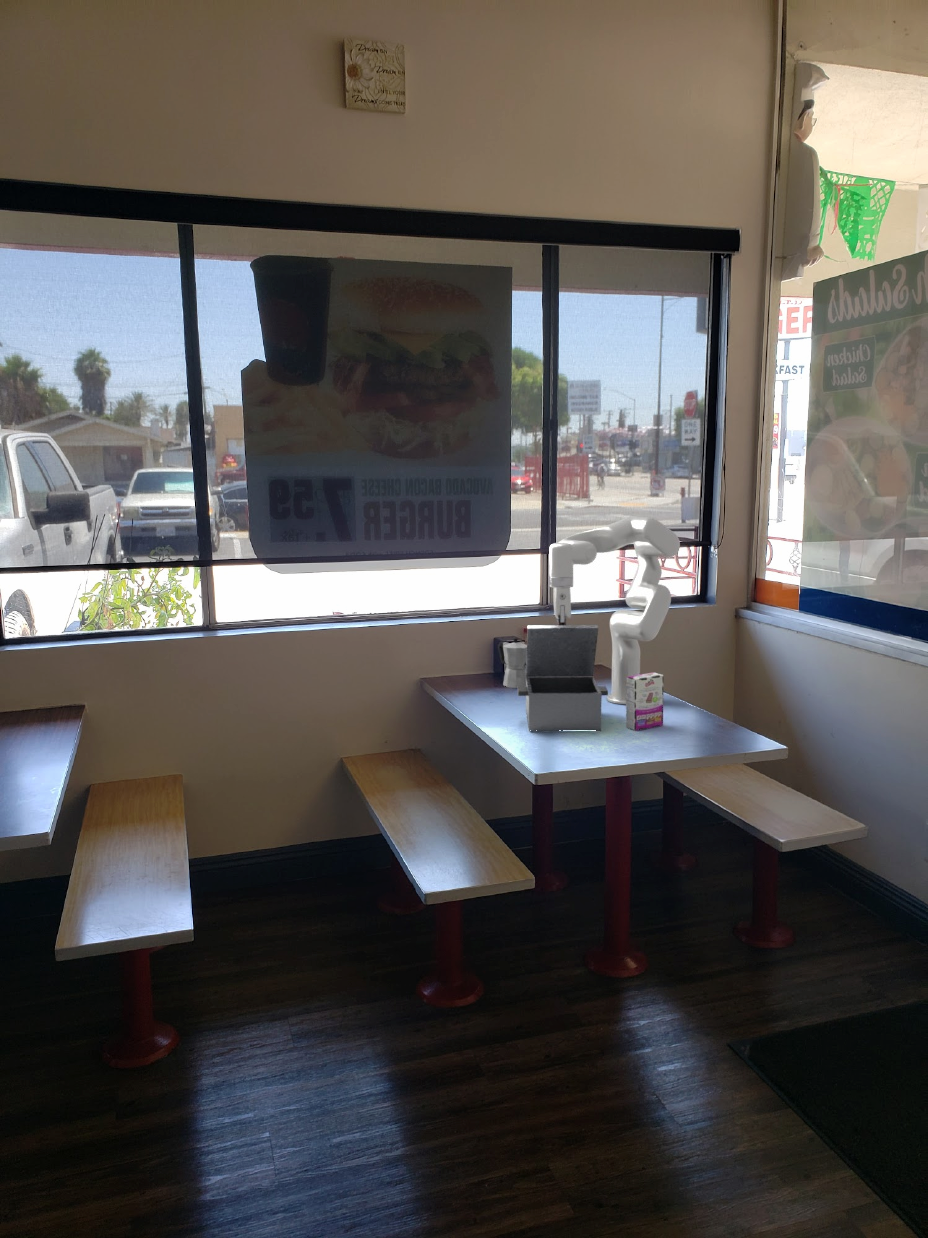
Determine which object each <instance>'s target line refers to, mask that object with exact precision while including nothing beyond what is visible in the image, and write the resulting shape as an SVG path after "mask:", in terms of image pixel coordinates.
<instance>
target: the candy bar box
mask: <svg viewBox="0 0 928 1238" xmlns="http://www.w3.org/2000/svg"><path fill="white" fill-rule="evenodd" d="M664 679H665V678H664V674H662V673H657V672H649V673H642V674H641V673H640V675H634V676H628V677H626V704H625V706H626V707H625V709H626V711H625V712H626V713H625V714H626V715H625V719H626V720H625V721H626V722H625V724H626V725H625V727H626V728H627V729H629V728H630V730H633V731H634V732H636V730H637V731H641V730H647V728H648V729H652V728H658V727H663V726H664Z"/></svg>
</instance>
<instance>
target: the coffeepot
mask: <svg viewBox="0 0 928 1238" xmlns="http://www.w3.org/2000/svg"><path fill="white" fill-rule="evenodd" d="M512 639H513V642H511V643H509V642H508V641H507V642H506V641H500V642H499V643H498V645H497V649H498V654H499V657H500V662H501V664H505V665H506V667H505V671H504V676H503V683H502V685H503V686H504V687H505V686H506V687H505V688H508V689H518V687H526V655H527V644H525V643H521V642H518V637H513V638H512Z"/></svg>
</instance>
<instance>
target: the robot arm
mask: <svg viewBox="0 0 928 1238" xmlns="http://www.w3.org/2000/svg"><path fill="white" fill-rule="evenodd" d="M630 544H633V546H634V551H635V554H636V559H637V569H636V571H635V574H634V577H633V578H632V581H631V583H630V584H629V585H630V586H629V587H628V589H627V592H626V594H625V603H626V605H627V606H628V607H629V608H632V609H635V610H632V609H626V608H625V609H619V610H616V611H615V612H613V613H612V614H611V616H610V619H609V631H610V636H611V645H612V646H611V649H612V650H611V693H608V695H606V700H607V701H608V702H609V703H612V704H620V705H626V677H628V676H634V675H641V648H640V644H639V641H641V642H650V641H652V640H653V639H654V640H655V638H656V636H657V635H658V633H659V632H660V630H661V627H662V625H663V623H664V622H665V619H666V616H667V614H668V611H669V609H670V607H671V602H672V594H671V592H670V591H671V590H670V589H669V588H668V587H667V586H666V585H662V584H659V583H660V580H661V579H662V578H661V577H662V574H663V572H662V566H661V563H660V561H659V558H668V559H669V558H672V557H674V556H676V555H677V554H678V553H679V551H680V548H681V543H680V539H679V537H678V535H677V534H676V533H675V532H674V531H673V530H671V529H670V528H668V527H667V526H666V525H664V524H663V523H662V522H660V521H659V520H658V519H655V518H654V517H650V516H636V515H635V516H634V515H632V516H627V517H624V518H623V519H620V520H617V521H616V522H615V521H614V522H612V523H610V524H608V525H606V526H602V527H598V528H595V529H591V530H587V531H582V532H577V533H574V534H572V535H570V536H567V537H564V538H563V539H561V540H559V541H558V542H554V543H552V544H550V546H549V548H548V549H549V550H548V551H549V554H548V556H549V562H548V563H549V571H548V572H549V574H548V575H549V587H550V588H553V592H552V594H553V596H552V597H553V598H552V599H553V600H552V601H553V613H554V617H555V618H556V625H567V618H568V619H571V618H572V602H571V601H572V599H571V595H572V594H571V588H573V587H574V565H582V566H583V565H584V566H586V565H590V564H591V563H593V562H595V559H596V558H597V555H598V554H600V553H601V554H602V553H610V552H615V551H617V550H619V549H621V548H623V547H626V546H628V545H630ZM638 610H639V611H638Z"/></svg>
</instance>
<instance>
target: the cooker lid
mask: <svg viewBox="0 0 928 1238" xmlns="http://www.w3.org/2000/svg"><path fill="white" fill-rule="evenodd" d="M526 628H527V630H526V631H527V632H526V633H527V636H526V645H527V655H526V663H525V669H526V677H594V672H595V664H596V654H597V653H596V652H597V646H598V645H597V644H598V635H599V625H598V624H596V625H595V624H588V625H587V624H585V625H584V624H581V625H580V624H579V625H578V624H576V625H575V624H573V625H572V624H571V625H569V624H568V625H567V624H566V625H557V624H556V625H555V624H554V625H527V627H526Z"/></svg>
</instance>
